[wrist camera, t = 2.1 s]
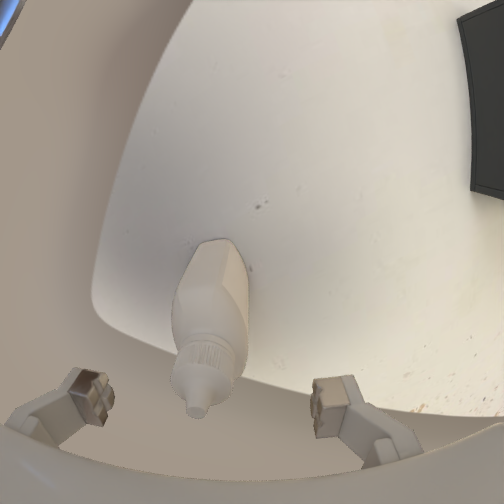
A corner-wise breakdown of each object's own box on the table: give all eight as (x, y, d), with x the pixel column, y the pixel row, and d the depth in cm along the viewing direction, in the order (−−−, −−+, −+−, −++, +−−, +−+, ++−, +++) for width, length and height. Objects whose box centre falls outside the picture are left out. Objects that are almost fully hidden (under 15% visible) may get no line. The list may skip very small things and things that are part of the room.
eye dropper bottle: (266, 249, 20) (287, 373, 8) (240, 319, 21) (233, 461, 10) (203, 229, 19) (145, 333, 8) (182, 301, 21) (130, 433, 10)
